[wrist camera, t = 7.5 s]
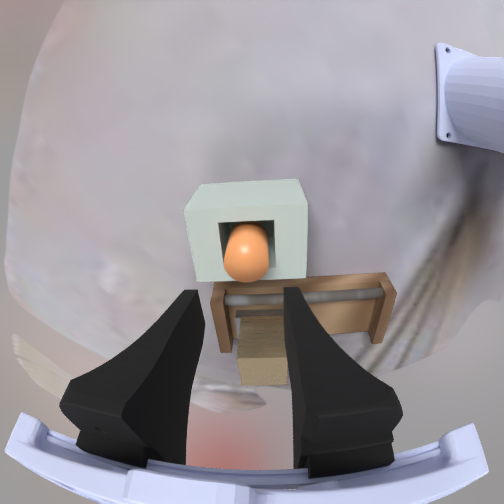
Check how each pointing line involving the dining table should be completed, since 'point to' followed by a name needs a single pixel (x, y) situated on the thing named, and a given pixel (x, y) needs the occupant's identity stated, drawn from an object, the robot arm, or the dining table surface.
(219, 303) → the rail deck
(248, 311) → the block
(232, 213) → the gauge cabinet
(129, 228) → the dining table surface
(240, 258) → the orange rounded peg
